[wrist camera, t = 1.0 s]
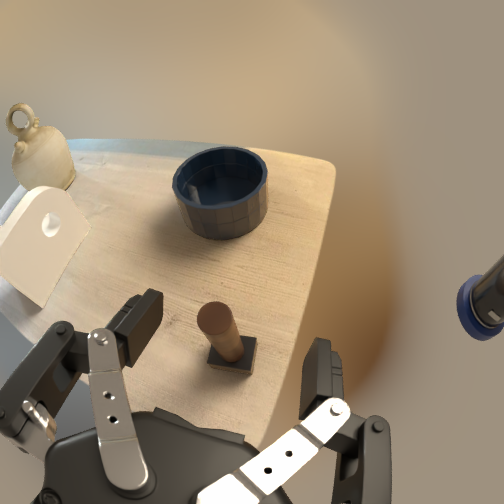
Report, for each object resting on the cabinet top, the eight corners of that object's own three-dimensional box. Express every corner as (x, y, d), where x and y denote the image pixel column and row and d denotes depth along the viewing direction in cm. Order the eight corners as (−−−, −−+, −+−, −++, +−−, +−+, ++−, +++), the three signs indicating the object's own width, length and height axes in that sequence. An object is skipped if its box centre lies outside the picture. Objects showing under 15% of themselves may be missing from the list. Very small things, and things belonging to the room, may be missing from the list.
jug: (49, 170, 60) (12, 100, 39) (89, 159, 59) (53, 78, 38) (25, 211, 51) (-24, 137, 31) (65, 203, 51) (13, 114, 30)
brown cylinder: (257, 344, 33) (250, 298, 22) (252, 374, 31) (241, 347, 19) (218, 337, 34) (190, 290, 22) (211, 367, 32) (177, 335, 20)
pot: (272, 179, 49) (272, 148, 43) (261, 244, 41) (259, 213, 36) (197, 175, 51) (189, 146, 45) (171, 235, 43) (158, 206, 38)
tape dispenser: (43, 308, 37) (-11, 265, 25) (15, 287, 39) (-30, 246, 28) (91, 227, 46) (55, 172, 34) (58, 217, 49) (26, 170, 37)
